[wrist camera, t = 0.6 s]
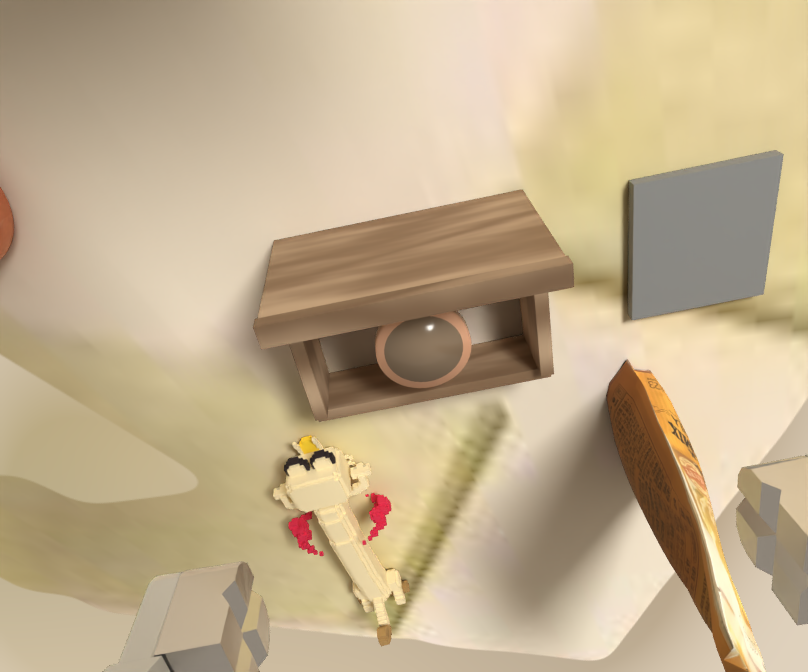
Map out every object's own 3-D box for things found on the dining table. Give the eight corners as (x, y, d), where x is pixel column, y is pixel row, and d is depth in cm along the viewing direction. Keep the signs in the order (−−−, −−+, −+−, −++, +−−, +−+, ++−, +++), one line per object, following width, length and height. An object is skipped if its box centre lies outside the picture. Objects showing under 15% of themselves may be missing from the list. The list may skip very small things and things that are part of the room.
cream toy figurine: (424, 565, 74) (356, 417, 58) (435, 640, 67) (360, 495, 51) (341, 586, 74) (252, 446, 59) (344, 662, 68) (243, 526, 52)
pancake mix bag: (616, 499, 68) (760, 807, 44) (575, 364, 58) (733, 671, 34) (680, 479, 67) (861, 783, 43) (650, 338, 57) (864, 635, 33)
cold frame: (272, 237, 49) (253, 327, 38) (522, 185, 48) (573, 263, 37) (320, 384, 57) (315, 493, 46) (535, 342, 56) (581, 443, 45)
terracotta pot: (363, 265, 51) (366, 319, 44) (448, 248, 51) (464, 300, 44) (380, 336, 54) (386, 396, 48) (460, 320, 54) (477, 378, 48)
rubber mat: (628, 180, 49) (633, 185, 48) (775, 150, 48) (783, 154, 47) (627, 314, 55) (632, 320, 54) (757, 288, 55) (763, 294, 54)
